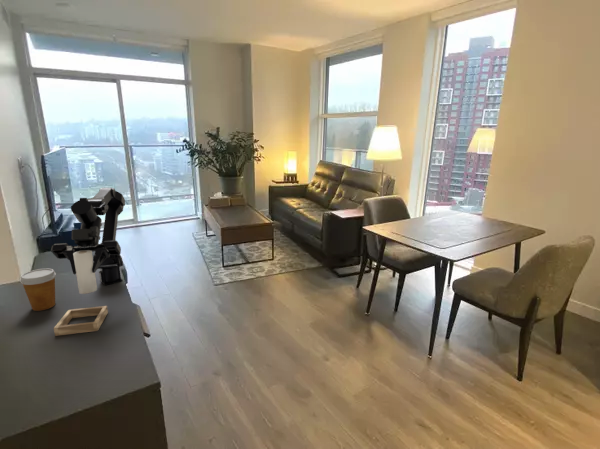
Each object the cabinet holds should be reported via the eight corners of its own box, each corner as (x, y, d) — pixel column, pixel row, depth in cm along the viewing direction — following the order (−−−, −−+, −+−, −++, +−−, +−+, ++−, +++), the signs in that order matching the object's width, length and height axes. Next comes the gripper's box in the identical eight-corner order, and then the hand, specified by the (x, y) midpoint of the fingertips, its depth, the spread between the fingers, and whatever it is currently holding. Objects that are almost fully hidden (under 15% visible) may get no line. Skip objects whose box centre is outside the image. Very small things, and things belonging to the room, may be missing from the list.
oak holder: (69, 316, 106) (68, 309, 105) (108, 312, 109) (107, 305, 108) (55, 335, 96) (53, 328, 95) (97, 330, 99) (96, 323, 98)
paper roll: (94, 286, 111) (89, 248, 108) (99, 290, 108) (93, 251, 105) (77, 290, 108) (71, 251, 105) (81, 295, 105) (75, 255, 101)
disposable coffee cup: (67, 300, 117) (62, 268, 114) (45, 314, 108) (38, 279, 105) (42, 299, 118) (36, 267, 115) (18, 312, 108) (10, 278, 105)
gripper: (48, 219, 104) (37, 264, 96) (114, 216, 109) (109, 259, 101) (62, 237, 113) (53, 279, 105) (122, 233, 118) (118, 274, 110)
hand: (83, 273), depth 105 cm, fingers closed on paper roll, 5 cm apart
